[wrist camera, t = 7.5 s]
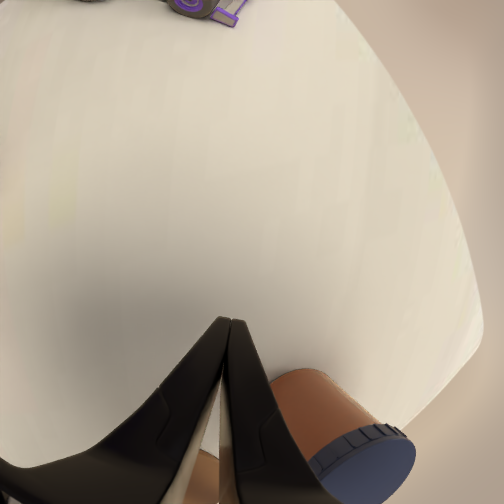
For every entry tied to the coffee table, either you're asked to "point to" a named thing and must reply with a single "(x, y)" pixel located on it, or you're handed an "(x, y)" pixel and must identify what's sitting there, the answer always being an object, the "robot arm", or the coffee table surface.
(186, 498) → the coaster
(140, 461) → the robot arm
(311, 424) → the jar
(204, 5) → the toy race car
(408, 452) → the jar lid
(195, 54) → the coffee table surface
